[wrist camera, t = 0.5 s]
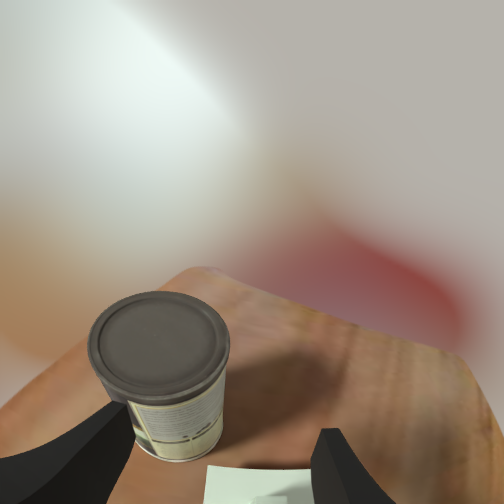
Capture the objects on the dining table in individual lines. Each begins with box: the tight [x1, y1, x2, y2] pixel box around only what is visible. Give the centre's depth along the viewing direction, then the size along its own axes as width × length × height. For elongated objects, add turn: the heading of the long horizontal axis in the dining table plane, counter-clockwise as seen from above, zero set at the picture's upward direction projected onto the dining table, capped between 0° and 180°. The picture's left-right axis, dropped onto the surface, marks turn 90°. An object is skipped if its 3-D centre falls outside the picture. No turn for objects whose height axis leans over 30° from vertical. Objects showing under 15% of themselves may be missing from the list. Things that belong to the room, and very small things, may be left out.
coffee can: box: [87, 291, 230, 462], centre depth 22 cm, size 10×10×14 cm
